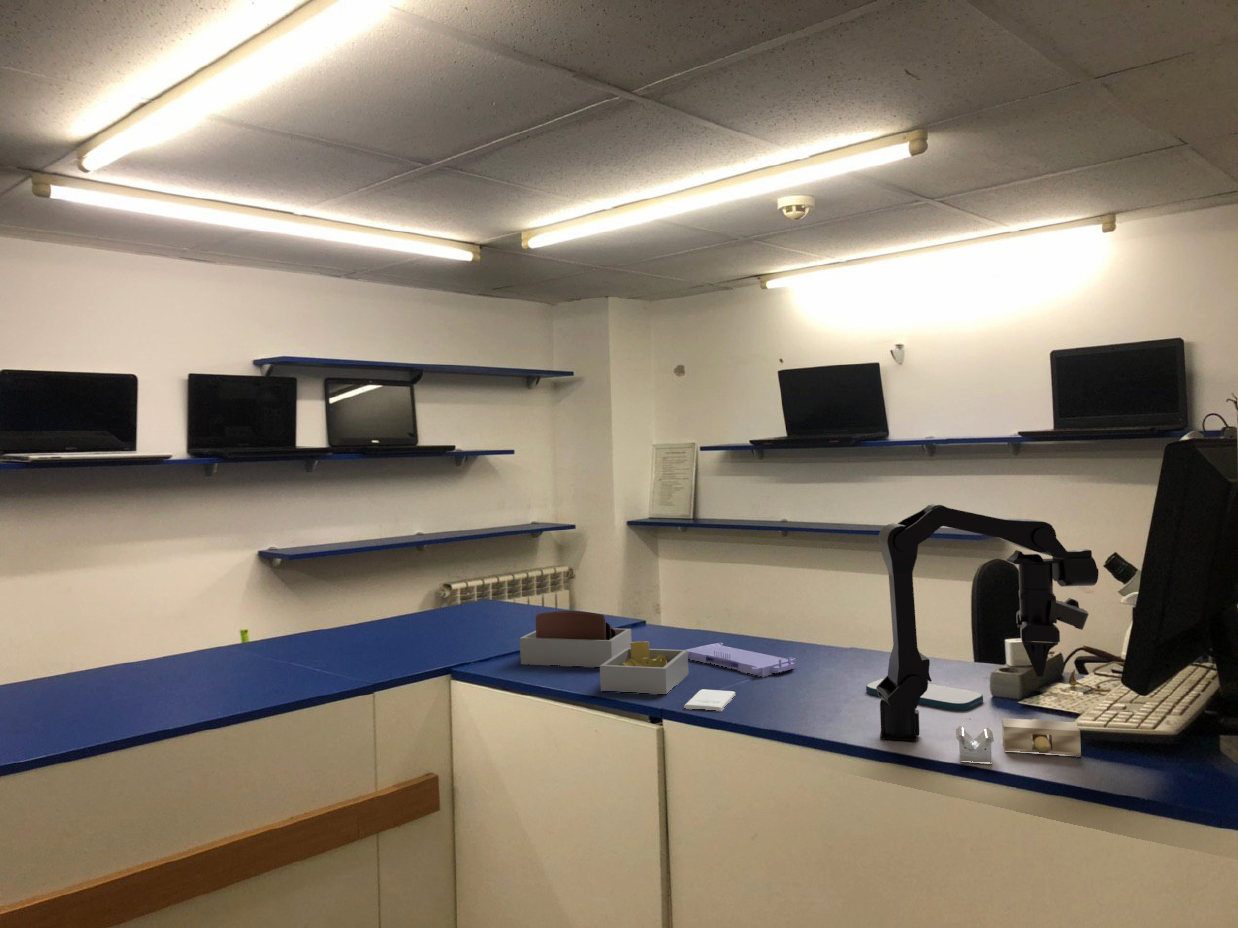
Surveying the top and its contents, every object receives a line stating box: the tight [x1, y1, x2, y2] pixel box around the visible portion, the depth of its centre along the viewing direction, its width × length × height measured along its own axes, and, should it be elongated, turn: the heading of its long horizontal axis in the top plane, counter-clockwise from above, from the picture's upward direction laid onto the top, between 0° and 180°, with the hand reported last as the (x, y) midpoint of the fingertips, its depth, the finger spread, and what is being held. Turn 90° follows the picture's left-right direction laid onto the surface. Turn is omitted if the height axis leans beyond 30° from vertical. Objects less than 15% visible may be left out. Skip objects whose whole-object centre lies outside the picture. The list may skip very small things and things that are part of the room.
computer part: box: [686, 642, 797, 678], centre depth 229 cm, size 30×4×15 cm
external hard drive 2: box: [865, 677, 984, 712], centre depth 193 cm, size 24×12×2 cm, turn 43°
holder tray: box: [519, 627, 633, 668], centre depth 242 cm, size 26×16×7 cm, turn 70°
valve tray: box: [599, 648, 689, 695], centre depth 214 cm, size 16×19×6 cm
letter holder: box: [535, 610, 616, 640], centre depth 241 cm, size 10×20×14 cm, turn 73°
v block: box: [955, 725, 995, 763], centre depth 154 cm, size 5×6×5 cm
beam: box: [1001, 717, 1082, 757], centre depth 157 cm, size 12×5×5 cm, turn 70°
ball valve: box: [619, 640, 668, 667], centre depth 215 cm, size 13×10×10 cm
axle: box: [1031, 718, 1051, 753], centre depth 159 cm, size 2×12×2 cm, turn 160°
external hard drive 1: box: [683, 688, 736, 712], centre depth 195 cm, size 2×8×12 cm
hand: (1038, 670), depth 167 cm, fingers open, 9 cm apart
